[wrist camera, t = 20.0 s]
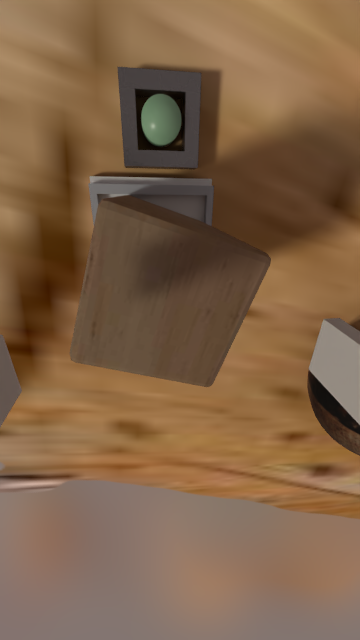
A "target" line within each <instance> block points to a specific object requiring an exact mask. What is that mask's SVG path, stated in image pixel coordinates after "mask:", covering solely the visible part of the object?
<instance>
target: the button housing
mask: <svg viewBox="0 0 360 640" xmlns="http://www.w3.org/2000/svg"><path fill="white" fill-rule="evenodd" d="M118 79H119V93H120V107H121V121H122V136H123V150H124V164H125V167H126V168H155V169H193V170H194V169H196V168H198V147H199V120H200V94H201V73H196V72H183V71H169V70H155V69H141V68H127V67H118ZM156 94H165V95H167V96H169V97H171V98H172V99H182V151H160V150H138V137H137V116H136V97H149V98H150V97H151V96H153V95H156Z"/></svg>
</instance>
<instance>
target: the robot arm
mask: <svg viewBox="0 0 360 640" xmlns="http://www.w3.org/2000/svg"><path fill="white" fill-rule="evenodd" d="M309 370H310V372H311V373H312V374H313V375H314V376H315V377H316V378H317V379H318V380H319V381H320V382H321V383H322V385H323V386H324V387H325V388H326V389H327V390H328V391H329V392H330V393H331V394H332V395H333V397H334V398H335V399H336V400H337V401H338V402H339V403H340V404H341V405H342V406H343V407H344V408H345V410H346V411H347V412H348V413H349V414H350V415H351V416H352V417H353V418H354V419H355V420H356V422H357V423H358V424H359V425H360V331H358V330H357V329H355V328H354V327H352V326H351V325H349V324H348V323H346V322H345V321H343V320H342V319H340V318H333V319H324V320H323V323H322V326H321V330H320V333H319V336H318V339H317V343H316V346H315V349H314V353H313V356H312V359H311V363H310V366H309ZM21 391H22V390H21V387H20V384H19V381H18V378H17V375H16V373H15V370H14V367H13V364H12V361H11V358H10V355H9V352H8V349H7V347H6V344H5V341H4V338H3V335H0V427H1V425H2V423H3V422H4V420H5V418H6V417H7V415H8V413H9V411H10V410H11V408H12V406H13V405H14V403H15V401H16V400H17V398H18V396H19V395H20V393H21Z"/></svg>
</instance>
